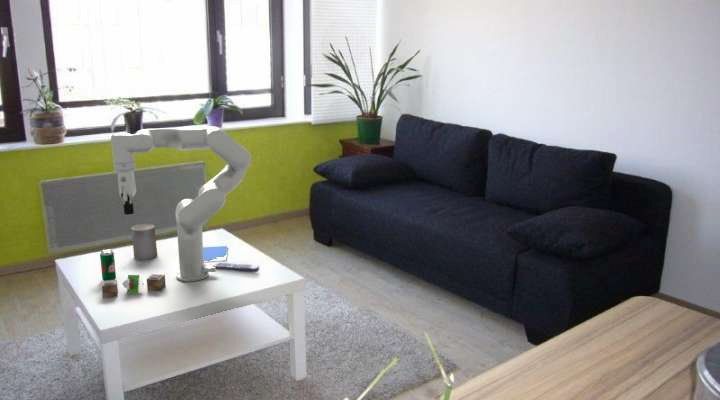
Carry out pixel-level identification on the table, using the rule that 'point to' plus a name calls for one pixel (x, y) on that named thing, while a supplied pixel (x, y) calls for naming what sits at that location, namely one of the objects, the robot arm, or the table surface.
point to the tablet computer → (214, 252)
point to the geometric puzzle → (132, 283)
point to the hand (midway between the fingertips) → (129, 213)
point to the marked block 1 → (109, 288)
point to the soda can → (107, 265)
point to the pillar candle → (144, 241)
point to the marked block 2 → (156, 283)
